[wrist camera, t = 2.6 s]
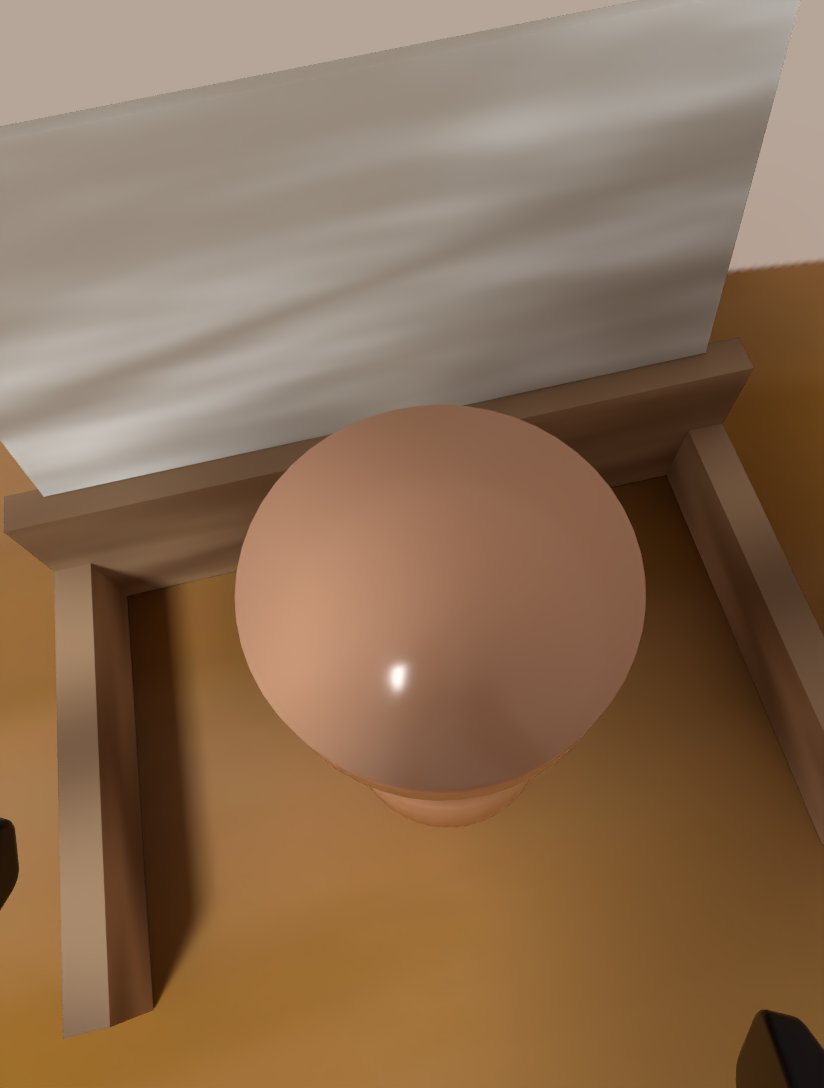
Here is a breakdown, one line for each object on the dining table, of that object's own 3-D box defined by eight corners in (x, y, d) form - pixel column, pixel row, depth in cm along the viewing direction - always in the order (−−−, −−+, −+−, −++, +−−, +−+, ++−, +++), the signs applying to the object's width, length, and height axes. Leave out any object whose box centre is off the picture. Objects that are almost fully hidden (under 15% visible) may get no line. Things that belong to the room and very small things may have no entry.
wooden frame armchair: (859, 835, 19) (1504, 750, 7) (112, 1019, 18) (-509, 1257, 6) (660, 386, 25) (840, -58, 13) (90, 511, 24) (-256, 157, 12)
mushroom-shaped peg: (581, 810, 20) (711, 729, 10) (362, 863, 19) (263, 836, 9) (519, 606, 22) (572, 371, 12) (325, 650, 22) (214, 448, 12)
